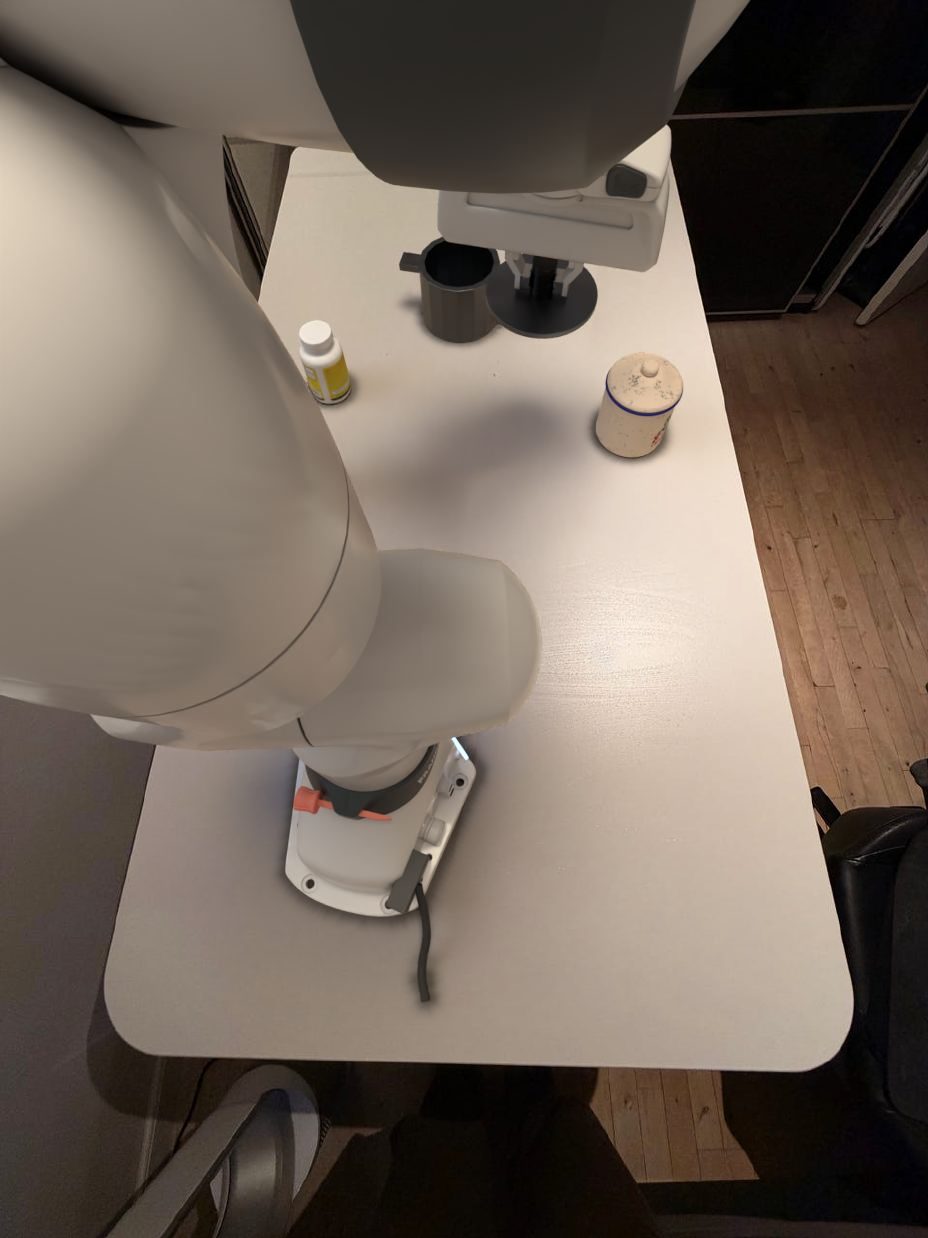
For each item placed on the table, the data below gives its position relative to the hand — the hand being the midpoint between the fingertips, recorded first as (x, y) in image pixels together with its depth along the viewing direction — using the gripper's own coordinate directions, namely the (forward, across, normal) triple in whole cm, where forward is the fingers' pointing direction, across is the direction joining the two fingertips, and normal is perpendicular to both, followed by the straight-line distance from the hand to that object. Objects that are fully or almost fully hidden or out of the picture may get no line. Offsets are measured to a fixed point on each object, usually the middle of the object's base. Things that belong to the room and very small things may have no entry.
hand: (542, 288), depth 63 cm
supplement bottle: (+22, -27, +1) cm, 35 cm away
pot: (+22, -13, +18) cm, 31 cm away
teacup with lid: (+22, +13, +4) cm, 26 cm away
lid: (+1, 0, 0) cm, 1 cm away
